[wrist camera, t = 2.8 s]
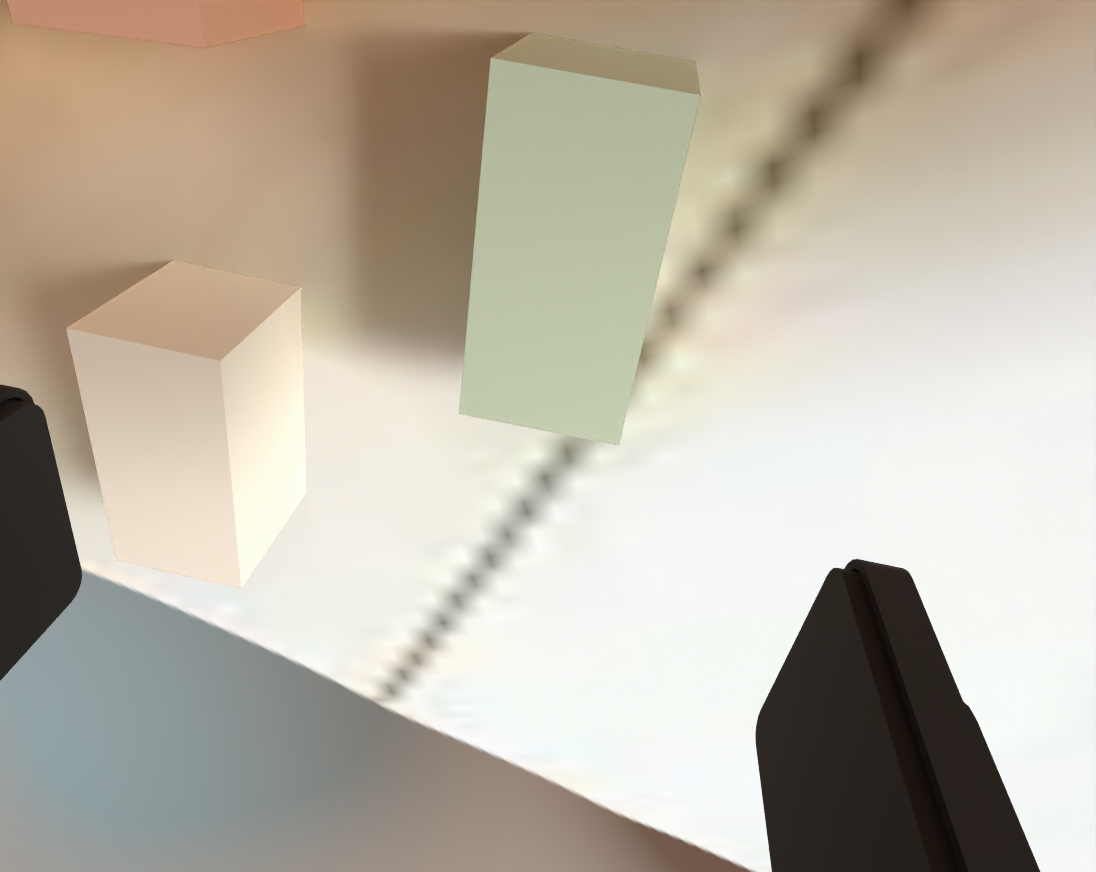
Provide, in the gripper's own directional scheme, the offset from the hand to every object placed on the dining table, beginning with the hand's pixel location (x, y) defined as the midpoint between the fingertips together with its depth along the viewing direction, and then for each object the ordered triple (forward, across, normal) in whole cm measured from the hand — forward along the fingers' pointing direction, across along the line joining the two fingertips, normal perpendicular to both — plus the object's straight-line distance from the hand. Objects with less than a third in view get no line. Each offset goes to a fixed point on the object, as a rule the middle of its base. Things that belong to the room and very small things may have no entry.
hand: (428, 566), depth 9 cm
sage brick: (+14, -1, 0) cm, 14 cm away
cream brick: (+14, +9, +7) cm, 19 cm away
